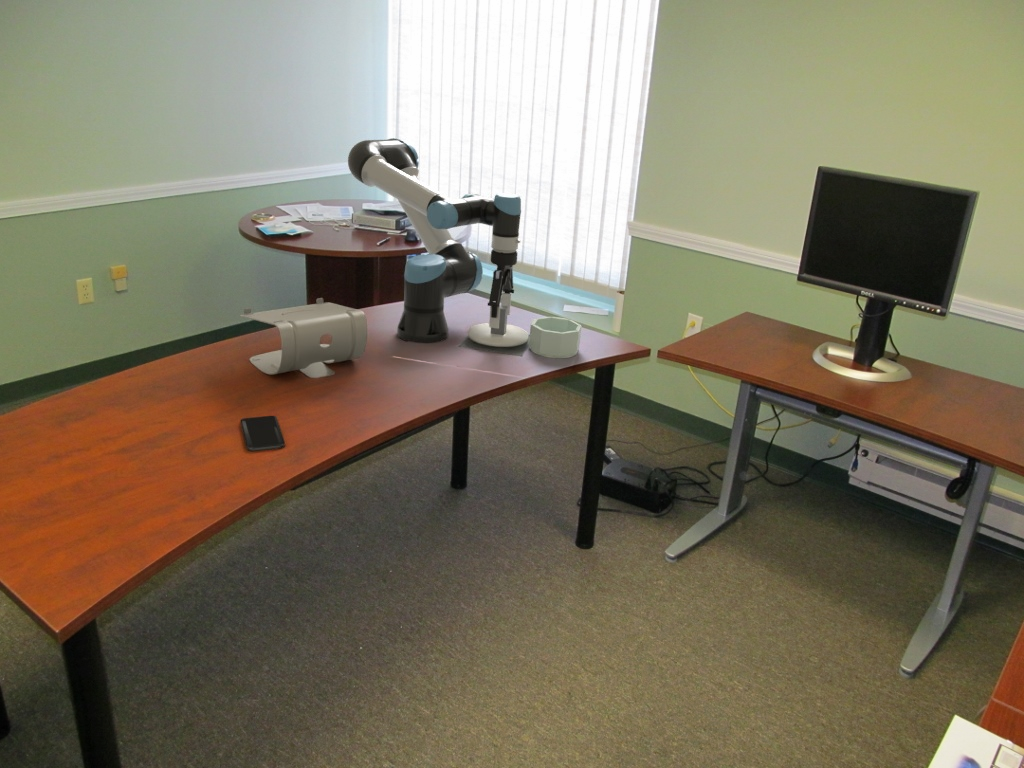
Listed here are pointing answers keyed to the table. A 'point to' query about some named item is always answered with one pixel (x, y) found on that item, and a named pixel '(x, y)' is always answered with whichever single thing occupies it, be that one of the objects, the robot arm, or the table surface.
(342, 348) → the portable electronic device stand
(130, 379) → the table surface
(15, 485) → the table surface
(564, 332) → the bowl
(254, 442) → the phone
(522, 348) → the mat
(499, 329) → the lid
